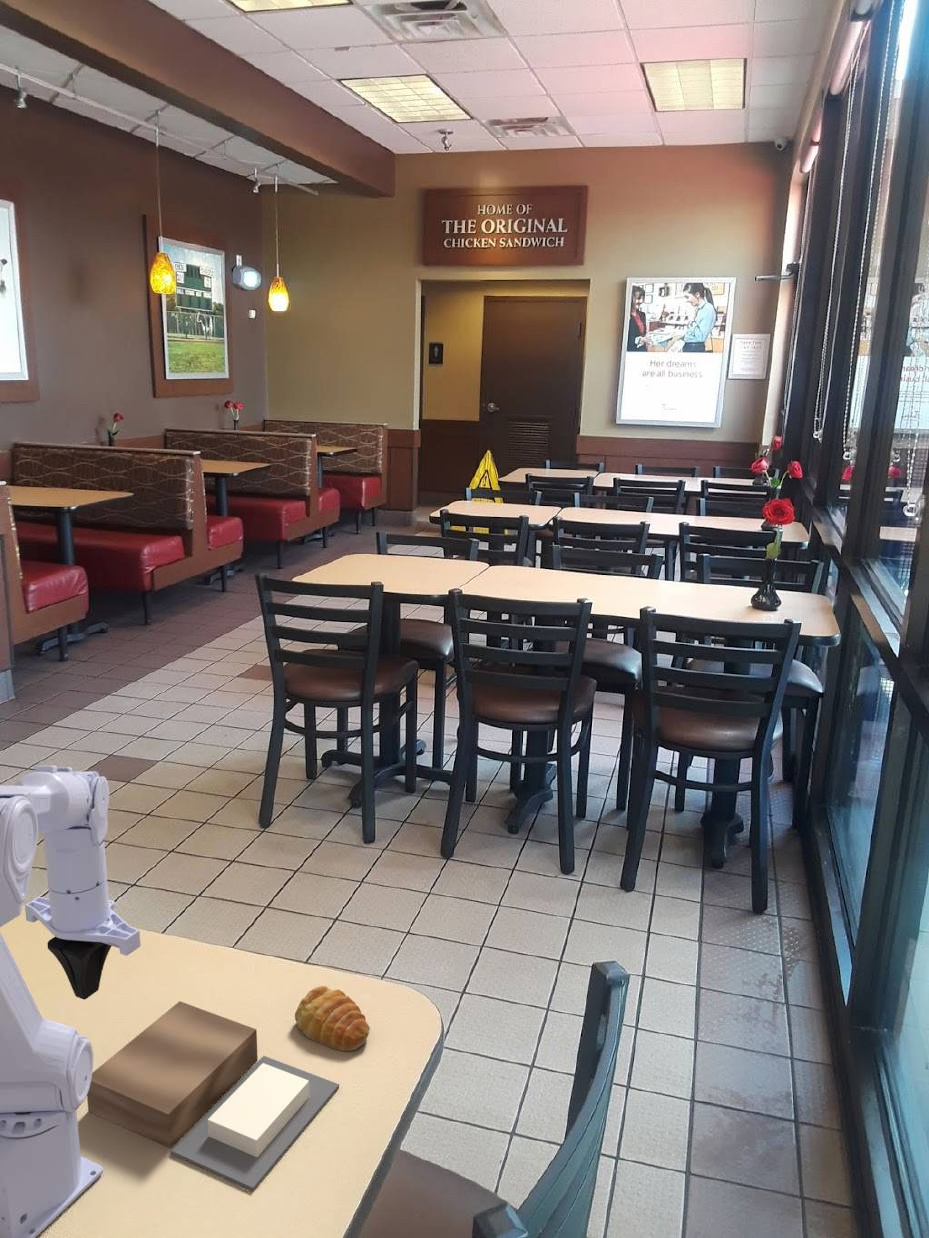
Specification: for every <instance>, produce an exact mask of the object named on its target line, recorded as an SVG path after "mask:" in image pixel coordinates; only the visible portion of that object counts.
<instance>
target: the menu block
mask: <svg viewBox="0 0 929 1238" xmlns="http://www.w3.org/2000/svg"><path fill="white" fill-rule="evenodd" d="M309 1097H310V1096H309V1080H306V1079H303V1078H301V1077H298V1076H296V1075H293V1074H290V1073H288V1072H285V1071H283V1070H280V1069H277V1068H275V1067H272V1066H270V1065H267V1064H264V1063H262V1064H261V1065H260V1066H259V1067H258V1069H257V1070H256V1071H255V1072H254V1073H253V1074H252V1075H251V1076H250V1077H249V1078H248V1079H247V1080H246V1081H245V1082H244V1083H243V1084H242V1085H241V1086H240V1087H239V1088H238V1089H237V1090H236V1091H235V1092H234V1093H233V1094H232V1095H231V1096H230V1097H229V1098H228V1099H227V1100H226V1101H225V1102H224V1103H223V1104H222V1105H221V1106H220V1107H219V1108H218V1110H217V1111H216V1112H215V1113H214V1114H213V1115H212V1116H211V1117H210V1118H209V1119H208V1135H209V1137H211V1138H214V1139H216V1140H218V1141H221V1142H223V1143H225V1144H227V1145H230V1146H232V1147H234V1148H237V1149H239V1150H241V1151H243V1152H246V1153H248V1154H250V1155H253V1156H255V1157H258V1156H259V1155H260V1154H261V1153H262V1151H263V1150H264V1149H265V1148H266V1147H267V1146H268V1144H269V1143H270V1142H271V1141H272V1140H273V1139H274V1137H275V1136H276V1135H277V1134H278V1133H279V1132H280V1130H281V1129H282V1128H283V1127H284V1126H285V1125H286V1123H287V1122H288V1121H289V1120H290V1119H291V1118H292V1116H293V1115H294V1114H295V1113H296V1112H297V1111H298V1110H299V1108H300V1107H301V1106H302V1105H303V1104H304V1103H305V1101H306V1100H307V1099H308V1098H309Z"/></svg>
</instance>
